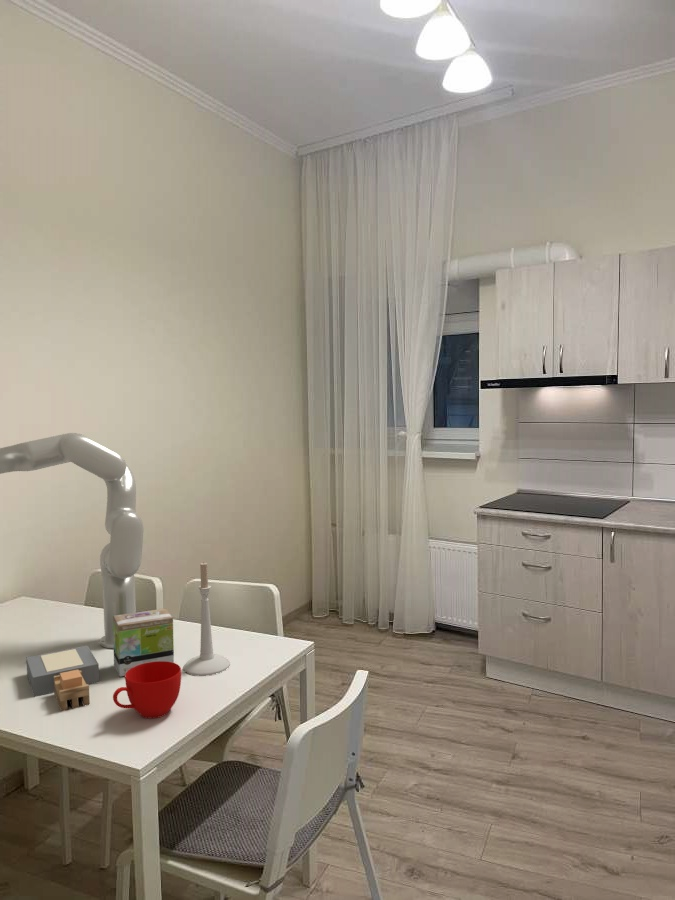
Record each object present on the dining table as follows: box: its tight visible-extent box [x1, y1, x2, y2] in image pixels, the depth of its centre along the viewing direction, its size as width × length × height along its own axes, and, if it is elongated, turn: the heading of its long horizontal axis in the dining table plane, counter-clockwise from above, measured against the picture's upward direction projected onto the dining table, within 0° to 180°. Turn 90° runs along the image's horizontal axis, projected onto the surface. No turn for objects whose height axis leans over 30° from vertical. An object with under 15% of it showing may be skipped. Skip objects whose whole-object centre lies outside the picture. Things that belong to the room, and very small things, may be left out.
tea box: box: [113, 608, 175, 678], centre depth 184 cm, size 15×10×15 cm
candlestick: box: [183, 562, 231, 677], centre depth 183 cm, size 13×13×30 cm
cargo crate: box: [60, 669, 82, 690], centre depth 164 cm, size 4×5×3 cm
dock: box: [26, 645, 100, 697], centre depth 177 cm, size 16×16×5 cm
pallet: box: [53, 671, 91, 712], centre depth 165 cm, size 7×11×5 cm, turn 31°
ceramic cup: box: [112, 661, 182, 719], centre depth 155 cm, size 13×17×10 cm
